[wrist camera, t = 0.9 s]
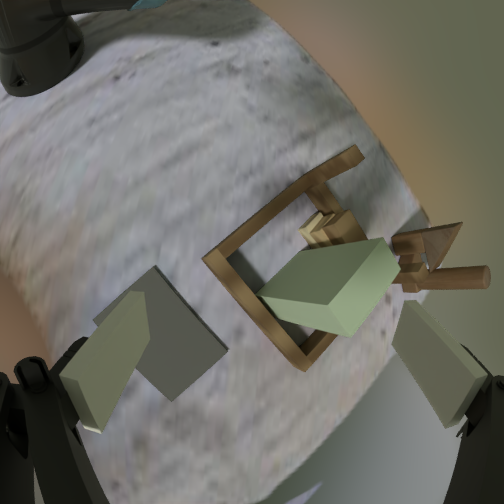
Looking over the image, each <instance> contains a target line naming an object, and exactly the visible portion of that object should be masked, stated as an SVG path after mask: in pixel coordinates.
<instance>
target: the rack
mask: <svg viewBox="0 0 504 504" xmlns="http://www.w3.org/2000/svg"><path fill="white" fill-rule="evenodd" d="M364 159H365V157H364V156H363V154H362V153H361V152H360V150H359V149H358V147H357V146H356V144H355V145H353V146H351V147H350V148H348V149H346V150H344V151H343V152H341V153H339V154H338V155H336V156H334V157H332V158H331V159H329V160H327V161H326V162H324V163H322V164H321V165H319V166H317V167H315V168H314V169H312V170H310V171H309V172H307V173H305V174H304V175H303V176H301V177H300V178H299V179H298V180H296V181H295V182H294V183H292V184H291V185H290V186H289V187H287V188H286V189H285V190H284V191H282V192H281V193H280V194H279V195H278V196H276V197H275V198H274V199H273V200H271V201H270V202H269V203H268V204H266V205H265V206H264V207H263V208H261V209H260V210H259V211H258V212H257V213H255V214H254V215H253V216H252V217H250V218H249V219H248V220H247V221H246V222H244V223H243V224H242V225H241V226H239V227H238V228H237V229H236V230H235V231H233V232H232V233H231V234H230V235H229V236H227V237H226V238H225V239H224V240H223V241H221V242H220V243H219V244H218V245H217V246H215V247H214V248H213V249H212V250H211V251H209V252H208V253H207V254H206V255H205V256H204V257H202V258H201V259H202V260H203V262H204V263H205V264H206V265H207V266H208V268H209V269H210V270H211V271H212V273H213V274H214V275H215V276H216V277H217V279H218V280H219V281H220V282H221V283H222V285H223V286H224V287H225V288H226V289H227V291H228V292H229V293H230V294H231V295H232V297H233V298H234V299H235V300H236V301H237V302H238V304H239V305H240V306H241V307H242V308H243V310H244V311H245V312H246V313H247V314H248V315H249V317H250V318H251V319H252V320H253V321H254V322H255V323H256V325H257V326H258V327H259V328H260V329H261V330H262V331H263V333H264V334H265V335H266V336H267V337H268V338H269V339H270V341H271V342H272V343H273V344H274V345H275V346H276V347H277V348H278V350H279V351H280V352H281V353H282V354H283V355H284V356H285V357H286V358H287V360H288V361H289V362H290V363H291V364H292V365H293V366H294V367H296V368H297V369H299V370H301V371H303V372H306V371H307V370H308V368H309V367H310V366H311V365H312V364H313V363H314V362H315V361H316V360H317V359H318V357H319V356H320V355H321V354H322V353H323V352H324V351H325V350H326V348H327V347H328V346H329V345H330V344H331V343H332V342H333V340H334V339H335V338H336V337H337V336H338V335H337V334H333V333H329V332H325V331H322V330H318V329H316V330H315V331H314V332H313V333H312V335H311V336H310V337H309V338H308V339H307V340H306V341H305V342H304V343H303V344H302V345H301V346H300V347H298V346H297V345H296V344H295V343H294V341H293V340H292V339H291V338H290V337H289V335H288V334H287V333H286V332H285V331H284V330H283V328H282V327H281V326H280V325H279V324H278V322H277V321H276V320H275V319H274V318H273V316H272V315H271V314H270V313H269V312H268V310H267V309H266V308H265V307H264V306H263V304H262V303H261V302H260V301H259V300H258V298H257V297H256V296H255V295H254V293H253V292H252V291H251V290H250V289H249V287H248V286H247V285H246V284H245V283H244V281H243V280H242V279H241V278H240V276H239V275H238V274H237V273H236V271H235V270H234V269H233V268H232V267H231V265H230V264H229V263H228V262H227V260H226V258H227V257H228V256H229V255H231V254H232V253H233V252H234V251H235V250H236V249H238V248H239V247H240V246H241V245H242V244H243V243H244V242H246V241H247V240H248V239H249V238H250V237H251V236H253V235H254V234H255V233H256V232H257V231H258V230H260V229H261V228H262V227H263V226H264V225H265V224H267V223H268V222H269V221H270V220H271V219H272V218H274V217H275V216H276V215H277V214H278V213H279V212H281V211H282V210H283V209H284V208H285V207H287V206H288V205H289V204H290V203H291V202H292V201H294V200H295V199H296V198H297V197H298V196H300V195H301V194H302V193H303V192H305V193H306V194H307V195H308V197H309V198H310V200H311V201H312V202H313V204H314V205H315V206H316V208H317V209H318V211H319V212H321V214H322V215H323V216H327V215H330V214H333V213H334V214H335V215H336V214H337V213H339V212H342V211H343V209H342V208H341V206H340V205H339V203H338V202H337V200H336V199H335V197H334V196H333V195H332V193H331V192H330V190H329V189H328V187H327V186H326V185H325V183H324V182H325V181H327V180H329V179H331V178H333V177H335V176H337V175H339V174H341V173H343V172H345V171H347V170H349V169H351V168H353V167H355V166H357V165H358V164H359V163H360V162H361V161H362V160H364ZM398 265H399V267H400V268H401V270H400V271H399V273H398V274H397V276H396V277H395V279H394V280H393V282H392V283H391V284H403V283H424V282H425V280H426V278H427V277H428V275H429V272H428V269H427V267H426V265H425V263H424V262H420V263H407V264H398Z"/></svg>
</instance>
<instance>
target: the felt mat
mask: <svg viewBox="0 0 504 504" xmlns="http://www.w3.org/2000/svg"><path fill="white" fill-rule="evenodd" d="M129 291H138V292H144V295H145V304H146V312H147V319H148V326H149V333H150V341H149V343H148V344H147V346H146V348H145V350H144V352H143V354H142V356H141V357H140V359H139V361H138V363H137V365H136V367H135V368H136V369H137V370H138V371H139V372H140V373H141V374H142V375H143V376H144V377H145V378H146V379H147V380H148V381H149V382H150V383H151V384H153V385H154V386H155V387H156V388H157V389H158V390H159V391H160V392H161V393H162V394H163V395H164V396H165V397H167V398H168V399H169V400H170V401H171V402H172V401H173V400H174V399H175V398H177V397H178V396H179V395H180V394H181V393H182V392H183V391H185V390H186V389H187V388H188V387H189V386H190V385H191V384H193V383H194V382H195V381H196V380H197V379H198V378H199V377H200V376H202V375H203V374H204V373H205V372H206V371H207V370H208V369H209V368H211V367H212V366H213V365H214V364H215V363H216V362H217V361H218V360H219V359H220V358H221V357H223V356H224V355H225V354H226V353H227V352H228V351H227V350H226V349H225V348H224V347H223V346H222V345H221V344H220V343H219V342H218V341H217V340H216V339H215V338H214V336H213V335H212V334H211V333H210V332H209V331H208V330H207V329H206V328H205V327H204V326H203V324H202V323H201V322H200V321H199V320H198V319H197V318H196V317H195V316H194V314H193V313H192V312H191V311H190V310H189V309H188V308H187V306H186V305H185V304H184V303H183V302H182V301H181V299H180V298H179V297H178V296H177V295H176V294H175V292H174V291H173V290H172V289H171V288H170V287H169V285H168V284H167V283H166V282H165V281H164V279H163V278H162V277H161V276H160V274H159V273H158V272H157V271H156V269H155V268H154V267H152V268H151V269H150V270H149V271H147V272H146V273H145V274H144V275H143V276H142V277H140V278H139V279H138V280H137V281H136V282H135V283H133V284H132V285H131V286H130V287H129V288H128V289H127V290H125V291H124V292H123V293H122V294H121V295H120V296H119V297H118V298H116V299H115V300H114V301H113V302H112V303H111V304H110V305H109V306H108V307H106V308H105V309H104V310H103V311H102V312H101V313H100V314H99V315H98V316H97V317H95V318H94V319H93V321H94V322H95V324H96V325H97V326H98V327H99V325H100V324H101V323H102V322H103V321H104V320H105V319H106V317H107V316H108V315H109V314H110V313H111V312H112V310H113V309H114V308H115V307H116V306H117V305H118V304H119V303H120V301H121V300H122V299H123V298H124V297H125V296H126V295H127V294H128V293H129Z"/></svg>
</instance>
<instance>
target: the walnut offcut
mask: <svg viewBox="0 0 504 504" xmlns="http://www.w3.org/2000/svg"><path fill="white" fill-rule="evenodd" d="M322 229H323V231H324V232H325V234H326V235H327V237H328V238H329V240H330V241H331V243H332V244H333V246H335V245H341V244H347V243H352V242H358V241H364V240H368V239H367V237H366V235H365V234H364V232H363V230H362V229H361V227H360V225H359V224H358V222H357V221H356V219H355V217H354V216H353V214H352V213H351V211H350V209H348V210H345V211H342V212H339V213H337V214H336V215H335V216H334V217H333V218H331V219H330V220H329V221H328V222H327V223H326V224H325V225H324V226H323V227H322Z"/></svg>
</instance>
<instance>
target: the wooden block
mask: <svg viewBox="0 0 504 504" xmlns="http://www.w3.org/2000/svg"><path fill="white" fill-rule="evenodd" d="M462 224H463V222H458V223H453V224H448V225H442V226H437V227H431V228H425V229H420V230H414V231H409V232H403V233H400V234H397V235H395V236H393V237H392V243H393V247H394V251H395V255H397V256H398V255H401V257H400V260H399V264H407V263H420V262H422V259H421V254H420V253H425V252H426V255H427V260H428V265H429V269H428V272H429V275H428V277H427V278H426V280H425V282H424V283H403V284H402V287H403V292H408V293H417V292H419V291H420V290H433V289H435V290H438V289H439V290H445V289H446V290H449V289H450V290H451V289H452V290H453V289H487V288H488V287H489V285H490V280H491V275H490V269H489V267H488V266H486V265H485V266H471V267H456V268H440V269H436V268H437V267H439V266H440V264H441V262H442V261H443V259H444V257H445V256H446V254H447V252H448V250H449V248H450V247H451V244H452V243H453V241H454V239H455V237H456V236H457V234H458V231H459V230H460V228H461V226H462Z"/></svg>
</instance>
